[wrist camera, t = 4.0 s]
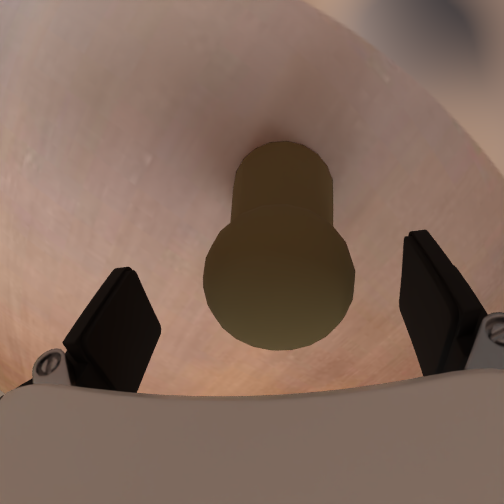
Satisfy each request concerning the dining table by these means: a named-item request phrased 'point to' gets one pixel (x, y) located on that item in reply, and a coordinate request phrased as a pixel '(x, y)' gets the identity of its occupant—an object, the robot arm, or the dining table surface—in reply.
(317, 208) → the olive pawn
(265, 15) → the dining table surface
